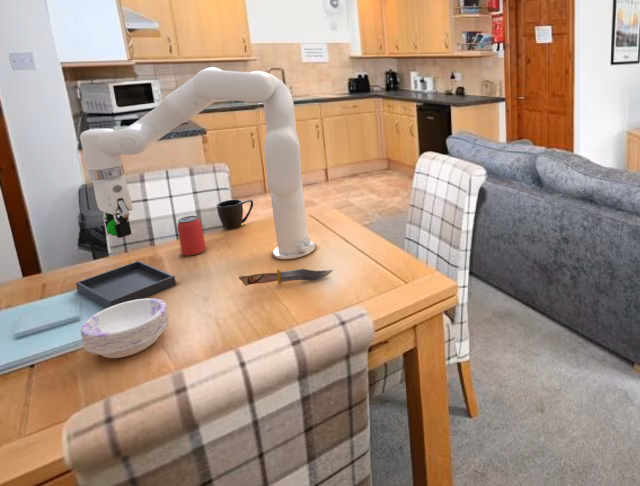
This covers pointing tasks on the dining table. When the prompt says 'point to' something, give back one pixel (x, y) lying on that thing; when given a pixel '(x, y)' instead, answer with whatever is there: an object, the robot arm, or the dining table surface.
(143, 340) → the paper bowls
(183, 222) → the beer can
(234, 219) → the mug
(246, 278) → the knife
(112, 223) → the lime
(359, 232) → the dining table surface
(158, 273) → the tray
